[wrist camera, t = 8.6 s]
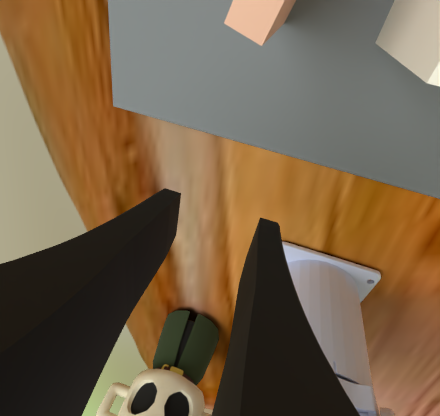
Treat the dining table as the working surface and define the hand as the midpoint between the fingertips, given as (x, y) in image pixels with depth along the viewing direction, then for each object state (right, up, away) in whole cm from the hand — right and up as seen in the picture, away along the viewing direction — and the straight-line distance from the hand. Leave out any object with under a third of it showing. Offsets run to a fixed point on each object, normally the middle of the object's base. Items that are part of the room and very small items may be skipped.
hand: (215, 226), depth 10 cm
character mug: (-3, -12, +23) cm, 26 cm away
